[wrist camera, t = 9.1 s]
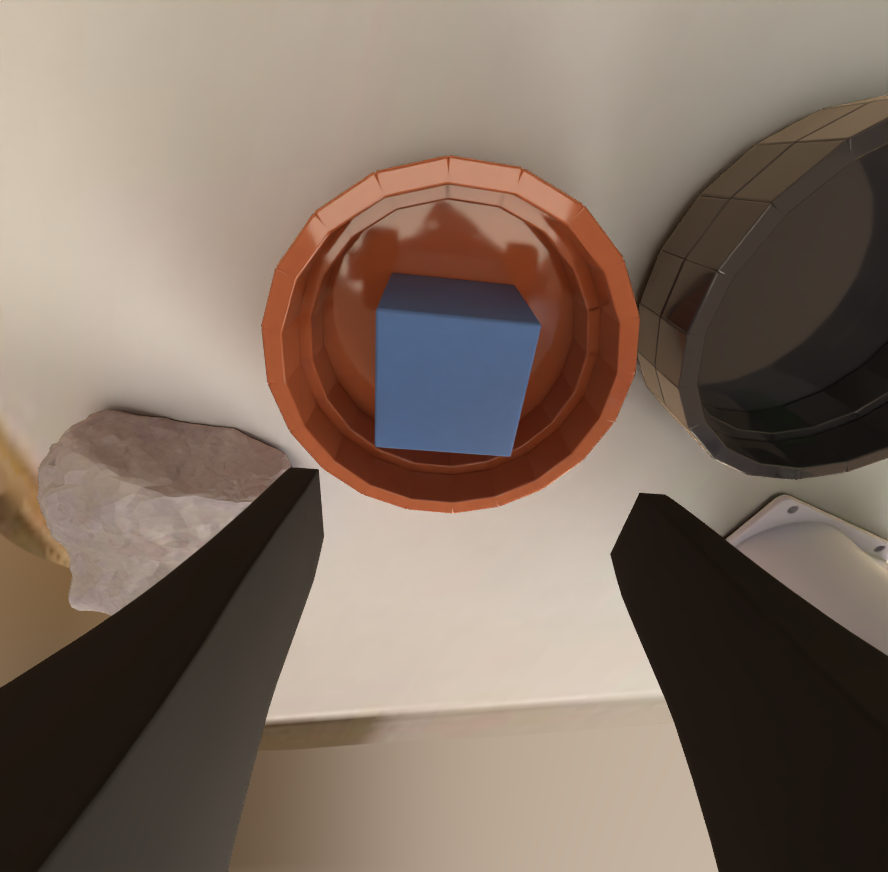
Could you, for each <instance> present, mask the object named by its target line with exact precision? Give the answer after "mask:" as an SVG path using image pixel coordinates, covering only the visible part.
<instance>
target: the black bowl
mask: <svg viewBox="0 0 888 872" xmlns="http://www.w3.org/2000/svg"><path fill="white" fill-rule="evenodd" d="M661 250H662V251H660V252H659V255H658V257H657V260H656V262H655V265H654V267H653V270H652V273H651V275H650V278H649V280H648V283H647V285H646V288H645V291H644V293H643V296H642V298H641V301H640V302H641V303H639V317H640V324H639V336H638V348H637V356H638V359H639V363H640V366H641V370H642V373H643V376H644V380H645V383H646V386H647V388H648V389H649V390H650V391H651V392H652V393H653V395H654V396H655V397H656V398H657V399H658V400H659V402H660V403H661V404H662V405H663V406H664V407H665V409H666V410H667V411H668V412H669V413H670V414H671V415H672V416H673V417H674V418H675V419H676V420H677V421H678V422H679V424H680V425H681V426H682V427H683V428H684V429H685V430H686V431H687V432H688V433H689V434H690V435H691V436H692V437H693V438H694V439H695V440H696V441H697V442H698V444H699V445H700V446H701V447H702V448H703V449H704V450H705V451H706V452H707V453H708V454H709V455H710V456H711V457H712V458H713V459H715V460H717V461H719V462H721V463H723V464H726V465H728V466H730V467H732V468H734V469H736V470H739V471H741V472H743V473H745V474H747V475H752V476H762V477H771V478H781V479H791V480H793V479H795V480H797V479H804V478H811V477H818V476H825V475H832V474H839V473H844V472H849V471H852V470H855V469H857V468H860V467H863V466H866V465H869V464H872V463H875V462H878V461H881V460H884V459H887V458H888V95H884V96H879V97H875V98H870V99H865V100H860V101H856V102H851V103H846V104H842V105H837V106H832V107H827V108H823V109H822V110H818V111H816V112H815V113H813V114H811V115H809V116H807V117H805V118H803V119H802V120H800V121H798V122H796V123H794V124H792V125H791V126H789V127H787V128H785V129H783V130H781V131H779V132H778V133H776V134H774V135H772V136H770V137H768V138H767V139H765V140H763V141H761V142H759V143H758V144H756V145H755V146H753V147H752V148H751V149H750V150H748V151H747V152H746V153H745V154H744V155H743V156H742V157H741V158H739V159H738V160H737V161H736V162H735V163H734V164H733V165H732V166H731V167H729V168H728V169H727V170H726V171H725V172H724V173H723V174H722V175H721V176H719V177H718V178H717V179H716V180H715V181H714V182H713V183H712V184H711V185H709V186H708V187H707V188H706V189H705V190H704V191H703V192H702V193H701V194H700V196H699V197H698V198H697V199H696V200H695V202H694V203H693V204H692V206H691V207H690V209H689V210H688V212H687V213H686V214H685V216H684V217H683V219H682V220H681V221H680V223H679V224H678V226H677V227H676V229H675V230H674V231H673V233H672V234H671V236H670V237H669V238H668V240H667V241H666V243H665V244H664V246H663V247H662V249H661Z"/></svg>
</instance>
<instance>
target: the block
mask: <svg viewBox="0 0 888 872" xmlns="http://www.w3.org/2000/svg"><path fill="white" fill-rule="evenodd" d="M540 329H541V324H540V322H539V321H538V319H537V318H536V316H535V315H534V313H533V312H532V310H531V309H530V307H529V306H528V304H527V303H526V301H525V300H524V298H523V297H522V295H521V294H520V292H519V291H518V289H517V288H516V286H514V285H509V284H499V283H490V282H480V281H470V280H460V279H450V278H440V277H430V276H420V275H411V274H401V273H391V276H390V278H389V281H388V283H387V285H386V288H385V290H384V292H383V295H382V297H381V300H380V302H379V304H378V307H377V309H376V338H375V446H376V447H383V448H396V449H410V450H424V451H438V452H452V453H466V454H480V455H494V456H508V457H509V456H511V453H512V449H513V445H514V441H515V436H516V432H517V428H518V423H519V419H520V415H521V411H522V406H523V402H524V398H525V394H526V389H527V385H528V381H529V376H530V372H531V368H532V364H533V359H534V355H535V351H536V346H537V342H538V338H539V334H540Z"/></svg>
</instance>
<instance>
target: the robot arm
mask: <svg viewBox="0 0 888 872" xmlns="http://www.w3.org/2000/svg"><path fill="white" fill-rule="evenodd" d="M323 538H324V530H323V518H322V505H321V493H320V480H319V469H306V468H292V467H290V468H289V469H287V470H286V471H285V472H284V473H283V474H282V475H281V476H279V477H278V478H277V479H276V480H275V481H274V482H273V483H272V484H271V485H270V486H269V487H268V488H267V489H266V490H265V491H264V492H263V493H262V494H260V495H259V496H258V497H257V498H256V499H255V500H254V501H253V502H252V503H251V504H250V505H249V506H248V507H247V508H245V509H244V510H243V511H242V512H241V513H240V514H239V515H238V516H237V517H235V518H234V519H233V520H232V521H231V522H230V523H229V524H228V525H226V526H225V527H224V528H223V529H222V530H221V531H220V532H219V533H217V534H216V535H215V536H214V537H213V538H212V539H210V540H209V541H208V542H207V543H206V544H205V545H203V546H202V547H201V548H200V549H198V550H197V551H196V552H195V553H194V554H192V555H191V556H190V557H189V558H187V559H186V560H185V561H184V562H182V563H181V564H180V565H179V566H178V567H176V568H175V569H174V570H173V571H171V572H170V573H169V574H168V575H166V576H165V577H164V578H162V579H161V580H160V581H159V582H157V583H156V584H155V585H153V586H152V587H151V588H149V589H148V590H147V591H145V592H144V593H143V594H141V595H140V596H139V597H137V598H136V599H135V600H133V601H132V602H130V603H129V604H128V605H126V606H125V607H123V608H122V609H121V610H119V611H118V612H116V613H115V614H113V615H112V616H111V617H109V618H108V619H106V620H105V621H104V622H102V623H101V624H99V625H98V626H96V627H95V628H93V629H92V630H90V631H89V632H87V633H86V634H84V635H83V636H81V637H80V638H78V639H77V640H75V641H73V642H72V643H70V644H69V645H67V646H66V647H64V648H62V649H61V650H59V651H58V652H56V653H55V654H53V655H51V656H50V657H49V658H47V659H45V660H44V661H42V662H41V663H39V664H37V665H36V666H34V667H33V668H31V669H30V670H28V671H27V672H25V673H23V674H22V675H20V676H19V677H17V678H15V679H14V680H12V681H11V682H9V683H7V684H6V685H4V686H3V687H1V688H0V872H228V868H229V864H230V859H231V855H232V851H233V847H234V843H235V838H236V834H237V830H238V825H239V822H240V818H241V814H242V810H243V806H244V802H245V798H246V794H247V790H248V786H249V782H250V778H251V774H252V770H253V766H254V762H255V758H256V755H257V751H258V747H259V744H260V740H261V736H262V732H263V728H264V725H265V721H266V717H267V713H268V710H269V706H270V703H271V700H272V697H273V694H274V691H275V687H276V684H277V681H278V679H279V676H280V673H281V670H282V668H283V665H284V662H285V659H286V656H287V654H288V651H289V648H290V645H291V643H292V640H293V637H294V634H295V631H296V629H297V626H298V623H299V620H300V618H301V615H302V612H303V609H304V606H305V604H306V601H307V598H308V595H309V592H310V589H311V586H312V584H313V581H314V577H315V573H316V569H317V565H318V561H319V556H320V552H321V547H322V543H323ZM611 558H612V562H613V566H614V570H615V574H616V578H617V581H618V585H619V588H620V591H621V595H622V598H623V600H624V603H625V605H626V608H627V610H628V612H629V615H630V617H631V620H632V622H633V624H634V627H635V629H636V632H637V634H638V636H639V639H640V641H641V643H642V646H643V648H644V650H645V653H646V655H647V657H648V660H649V662H650V664H651V667H652V669H653V671H654V674H655V676H656V679H657V681H658V683H659V686H660V688H661V690H662V693H663V695H664V697H665V700H666V702H667V705H668V708H669V710H670V713H671V715H672V718H673V721H674V723H675V726H676V729H677V732H678V736H679V739H680V742H681V744H682V748H683V751H684V754H685V757H686V760H687V763H688V766H689V769H690V773H691V775H692V779H693V782H694V786H695V789H696V792H697V796H698V799H699V802H700V806H701V809H702V813H703V816H704V820H705V823H706V827H707V830H708V833H709V837H710V840H711V844H712V848H713V852H714V856H715V859H716V863H717V867H718V871H719V872H888V564H887V563H886V562H887V561H888V541H887V540H885V539H883V538H881V537H878V536H876V535H874V534H872V533H870V532H868V531H865V530H863V529H861V528H859V527H857V526H855V525H852V524H850V523H848V522H846V521H844V520H842V519H839V518H837V517H835V516H833V515H831V514H829V513H826V512H824V511H822V510H820V509H818V508H816V507H813V506H811V505H809V504H807V503H805V502H803V501H800V500H798V499H796V498H794V497H792V496H790V495H781V496H778V497H777V498H775V499H774V500H773V501H771V502H770V503H769V504H768V505H766V506H765V507H764V508H763V509H762V510H760V511H759V512H758V513H757V514H756V515H754V516H753V517H752V518H751V519H749V520H748V521H747V522H746V523H745V524H743V525H742V526H741V527H740V528H739V529H737V530H736V531H735V532H734V533H733V534H731V535H730V536H729V537H728V538H726V539H724V538H723V537H721V536H720V535H719V534H717V533H716V532H715V531H714V530H712V529H711V528H710V527H709V526H707V525H706V524H705V523H703V522H702V521H701V520H699V519H698V518H697V517H696V516H694V515H693V514H692V513H690V512H689V511H688V510H686V509H685V508H684V507H682V506H681V505H680V504H678V503H677V502H675V501H674V500H672V499H671V498H670V497H668V496H667V495H663V494H649V493H639V495H638V497H637V499H636V501H635V504H634V506H633V508H632V510H631V512H630V514H629V516H628V518H627V520H626V522H625V525H624V527H623V529H622V531H621V533H620V535H619V537H618V539H617V541H616V543H615V546H614V548H613V550H612V552H611Z"/></svg>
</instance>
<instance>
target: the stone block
mask: <svg viewBox="0 0 888 872" xmlns="http://www.w3.org/2000/svg"><path fill="white" fill-rule="evenodd" d="M290 467H292V466H291V464H290V462H289V460H288V458H287V456H286V455H285V454H284V453H283V452H281V451H280V450H277V449H275V448H273V447H270V446H268V445H266V444H264V443H262V442H260V441H257V440H255V439H253V438H251V437H249V436H247V435H245V434H243V433H241V432H240V431H238V430H236V429H234V428H227V427H212V426H206V425H200V424H190V423H184V422H178V421H173V420H170V419H167V418H163V417H149V416H136V415H133V414H130V413H127V412H122V411H114V410H103V411H100V412H96V413H93V414H91V415H89V416H88V417H87V418H86V419H85V420H83V421H81V422H79V423H77V424H74V425H72V426H71V427H70V428H69V429H68V430H67V431H66V432H65V433H64V434H63V435H62V437H61V438H60V440H59V442H58V443H54V444H52V445H51V447H50V451H49V453H48V454H47V456H46V457H45V458H44V460H43V461H42V463H41V464H40V466H39V468H38V482H39V490H38V495H37V499H38V502H39V505H40V507H41V513H42V514H43V516H44V518H45V520H46V525H47V527H48V528H49V530H50V533H51V535H52V538H54V539H55V540H56V541H57V542H59V543H61V544H62V545H63V547H64V548H65V549H66V551H67V552H68V555H69V558H70V571H71V573H72V575H73V576H72V581H71V587H70V591H69V595H68V598H69V603H70V605H71V607H73V608H75V609H77V610H79V611H83V610H90V611H98V612H103V613H106V614H108V615H111V616H112V615H113V614H115V613H116V612H118V611H119V610H121V609H122V608H123V607H125V606H126V605H128V604H129V603H130V602H132V601H133V600H135V599H136V598H137V597H139V596H140V595H141V594H143V593H144V592H145V591H147V590H148V589H149V588H151V587H152V586H153V585H155V584H156V583H157V582H159V581H160V580H161V579H162V578H164V577H165V576H166V575H168V574H169V573H170V572H171V571H173V570H174V569H175V568H176V567H178V566H179V565H180V564H181V563H182V562H184V561H185V560H186V559H187V558H189V557H190V556H191V555H192V554H194V553H195V552H196V551H197V550H198V549H200V548H201V547H202V546H203V545H205V544H206V543H207V542H208V541H209V540H210V539H212V538H213V537H214V536H215V535H216V534H217V533H219V532H220V531H221V530H222V529H223V528H224V527H225V526H226V525H228V524H229V523H230V522H231V521H232V520H233V519H234V518H235V517H237V516H238V515H239V514H240V513H241V512H242V511H243V510H244V509H245V508H247V507H248V506H249V505H250V504H251V503H252V502H253V501H254V500H255V499H256V498H257V497H258V496H259V495H260V494H262V493H263V492H264V491H265V490H266V489H267V488H268V487H269V486H270V485H271V484H272V483H273V482H274V481H275V480H276V479H277V478H278V477H279V476H281V475H282V474H283V473H284V472H285V471H286V470H287V469H289V468H290ZM292 468H293V467H292Z"/></svg>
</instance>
